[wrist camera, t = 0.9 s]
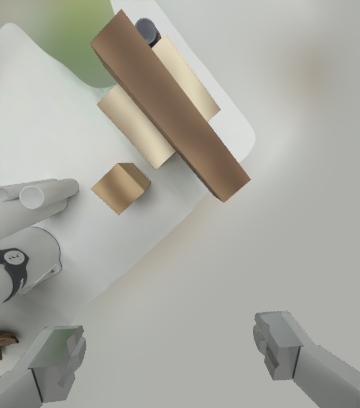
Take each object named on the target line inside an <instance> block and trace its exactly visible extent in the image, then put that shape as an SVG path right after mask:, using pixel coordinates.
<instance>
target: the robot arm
mask: <svg viewBox="0 0 360 408" xmlns="http://www.w3.org/2000/svg"><path fill="white" fill-rule="evenodd" d="M59 256H60V249H59V246H58V243H57V242H56V240H55V239H54V238H53V237H52V236H51V235H50V234H49V233H48V232H46V231H44V230H42V229H39V228H36V227H27V228H24V229H22V230H20V231H18V232H16V233H14V234H12V235H9V236H7V237H5V238H3V239H1V240H0V304H1V303H4V302H6V301H7V300H9V299H10V298H12V297H13V296H14V295H16V294H22V295H25V294H27V293H28V292H29V291H30V290H31V289H32V288H33V287H34V286H36V285H38V284H39V283H41V282H43V281H44V280H46V279H48V278H49V277H51V276H53V275H54V274H56V273H58V272H59V271H60V270H61V264H60V261H59ZM53 270H54V271H53ZM255 321H256V323H257V324H256V325H255V326H254V329H253V334H254V340H255V343H256V345H257V347H258V350H259V351H260V352H261V353H262V354H263V355H265V361H264V362H265V365H266V367H267V369H268V371H269V373H270V375H271V377H272V379H273V380H290V379H293V381H294V382H295V383H296V384H297V385H298V386H299V387H300V388H301V389H302V390H303V391H304V392H305V393H306V394H307V395H308V396H309V397H310V398H311V399H312V400H313V401H314V402H315V403H316V404H317V405H318V406H319V407H320V408H360V372H359V371H358V370H356V369H355V368H353V367H351V366H350V365H348V364H347V363H345V362H344V361H342V360H341V359H339V358H338V357H336V356H335V355H333V354H332V353H330V352H329V351H327V350H326V349H324V348H323V347H321V346H320V345H315V344H314V342H313V341H312V340H311V338H310V337H309V336H308V335H307V333H306V332H305V331H304V330H303V328H302V327H301V326H300V325H299V323H298V322H297V321H296V320H295V319H294V317H293V316H292V315H291V313H290V312H288V311H278V312H263V313H256V315H255ZM83 332H84V331H83V327H82V326H58V327H46V328H44V329H43V330H42V331H41V332H40V333H39V335H38V336H37V337H36V339H35V340H34V341H33V343H32V344H31V345H30V347H29V348H28V350H27V351H26V352H25V354H24V355H23V356H22V358H21V359H20V360H19V362H18V363H17V364H16V366H15V367H14V368H13V370H12V371H7V372H6V373H5V374H3V375H2V376H1V377H0V408H40V407H41V406H42V403H47V402H55V401H62V400H66V398H67V396H68V394H69V391H70V389H71V387H72V384H73V382H74V380H75V375H74V372H75V371H76V370H77V369H78V367H80V365H81V363H82V361H83V358H84V354H85V350H86V341H85V338H83V337H82V334H83Z"/></svg>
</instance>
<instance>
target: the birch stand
mask: <svg viewBox="0 0 360 408" xmlns="http://www.w3.org/2000/svg"><path fill="white" fill-rule="evenodd" d="M152 50H153V51H154V53H155V54H156V55H157V57H158V58H159V59H160V61H161V62H162V63H163V64H164V66H165V67H166V68H167V70H168V71H169V72H170V74H171V75H172V76H173V78H174V79H175V80H176V82H177V83H178V84H179V86H180V87H181V88H182V90H183V91H184V92H185V93H186V95H187V96H188V97H189V99H190V100H191V101H192V103H193V104H194V105H195V107H196V108H197V109H198V111H199V112H200V113H201V115H202V116H203V117H204V118H205V120H206V121H207V122H208V121H209V120H210V119H211V118H212V117H213V116H214V115H215V114H217V113H218V112H219V111H220V110H221V109H220V108H219V106H218V105H217V104H216V102H215V101H214V100H213V98H212V97H211V95H210V94H209V93H208V91H207V90H206V88H205V87H204V86H203V84H202V83H201V82H200V80H199V79H198V77H197V76H196V75H195V73H194V72H193V70H192V69H191V68H190V66H189V65H188V64H187V62H186V61H185V59H184V58H183V57H182V55H181V54H180V52H179V51H178V50H177V48H176V47H175V46H174V44H173V43H172V41H171V40H170V39H169V37H168V36H167V34H165V35H164V36H163V37H162V38H161V39H160V40H159V41H158V42H157V43H156V45H155V46H154V47H153V48H152ZM97 106H98V107H99V108H100V109H101V110H102V111H103V112H104V113H105V114H106V115H107V117H108V118H109V119H110V120H111V121H112V122H113V123H114V124H115V125H116V126H117V128H118V129H119V130H120V131H121V132H122V133H123V134H124V135H125V136H126V137H127V138H128V140H129V141H130V142H131V143H132V144H133V145H134V146H135V147H136V148H137V149H138V150H139V152H140V153H141V154H142V155H143V156H144V157H145V158H146V159H147V160H148V161H149V163H150V164H151V165H152V166H153V167H154V168H155V169H157V168H158V167H160V166H161V165H162V164H163V163H164V162H165V161H166V160H167V159H168V158H170V157H171V156H172V155H173V154H174V153H175V152H176V151H175V149H174V148H173V147H172V146H171V145H170V143H169V142H168V141H167V140H166V139H165V138H164V136H163V135H162V134H161V133H160V132H159V131H158V129H157V128H156V127H155V126H154V125H153V124H152V122H151V121H150V120H149V119H148V118H147V116H146V115H145V114H144V113H143V112H142V111H141V109H140V108H139V107H138V106H137V105H136V104H135V102H134V101H133V100H132V99H131V98H130V96H129V95H128V94H127V93H126V92H125V91H124V89H123V88H122V87H121V86H120V85H119V84H118V83H117V84H116V85H115V86H114V87H113V88H112V89H111V90H110V91H109V92H108V93H107V95H106V96H105V97H104V98H103V99H102V100H101V101H100V102H99V103H98V104H97Z"/></svg>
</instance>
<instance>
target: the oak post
mask: <svg viewBox="0 0 360 408" xmlns="http://www.w3.org/2000/svg"><path fill="white" fill-rule="evenodd" d="M150 183H151V182H150V181H149V179H148V178H147V177H146V176H145V175H144V174H143V173H142V172H141V171H140V170H139V169H138V168H137V167H136V166H135V165H134V164H133V163H117V164H116V165H115V166H114V167H113V168H112V169H111V170H110V171H109V172H108V173H107V174H106V175H105V176H104V177H103V178H102V179H101V180H100V181H99V182H97V183H96V184H95V185H94V186H93V187H92V188H91V190H92V191H93V192H94V193H95V194H97V195H98V196H99V197H100V198H101V199H102V200H103V201H104V202H105V203H106V204H107V205H108V206H109V207H110V208H111V209H113V210H114V211H115V212H116V213H117V214H118V215H120V214H121V213H122V212H123V211H124V210H125V209H126V208H127V207H128V206H129V205H131V204H132V203H133V202H134V201H135V200H136V199H137V198H138V197H139V196H140V195H141V194H142V193H144V192H145V190H146V189H147V187H148V186H149V184H150Z"/></svg>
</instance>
